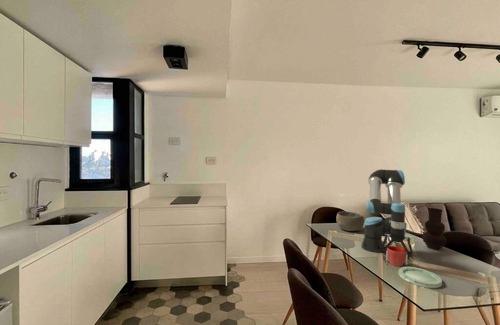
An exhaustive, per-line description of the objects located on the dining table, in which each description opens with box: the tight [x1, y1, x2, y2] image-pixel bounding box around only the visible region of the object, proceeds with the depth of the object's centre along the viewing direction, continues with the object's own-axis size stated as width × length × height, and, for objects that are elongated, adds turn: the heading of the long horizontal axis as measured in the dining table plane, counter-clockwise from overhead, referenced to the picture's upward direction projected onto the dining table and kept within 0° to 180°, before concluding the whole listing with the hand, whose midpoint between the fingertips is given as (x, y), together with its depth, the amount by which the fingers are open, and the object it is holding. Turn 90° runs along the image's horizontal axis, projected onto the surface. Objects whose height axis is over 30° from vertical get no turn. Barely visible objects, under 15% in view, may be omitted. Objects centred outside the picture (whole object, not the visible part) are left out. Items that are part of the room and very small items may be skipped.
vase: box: [421, 207, 448, 251], centre depth 184 cm, size 15×15×30 cm
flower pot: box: [387, 245, 407, 267], centre depth 155 cm, size 11×11×10 cm
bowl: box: [335, 211, 365, 232], centre depth 227 cm, size 24×24×15 cm
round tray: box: [398, 266, 443, 289], centre depth 136 cm, size 20×20×2 cm
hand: (396, 261), depth 155 cm, fingers closed on flower pot, 10 cm apart
